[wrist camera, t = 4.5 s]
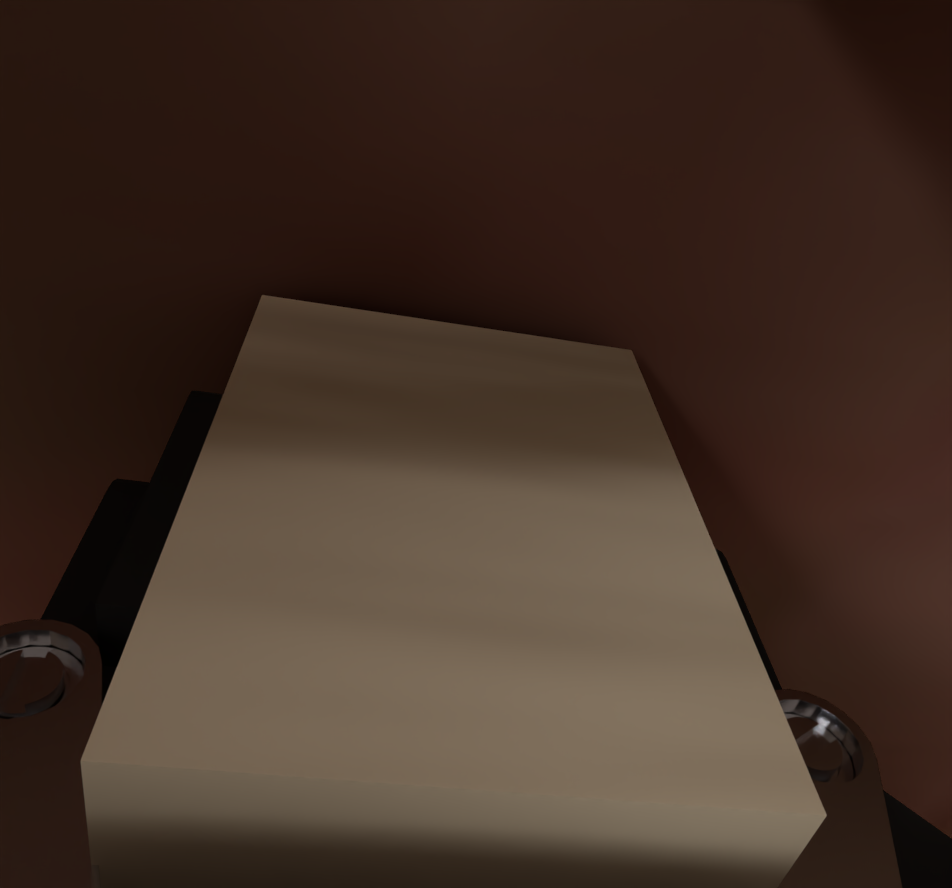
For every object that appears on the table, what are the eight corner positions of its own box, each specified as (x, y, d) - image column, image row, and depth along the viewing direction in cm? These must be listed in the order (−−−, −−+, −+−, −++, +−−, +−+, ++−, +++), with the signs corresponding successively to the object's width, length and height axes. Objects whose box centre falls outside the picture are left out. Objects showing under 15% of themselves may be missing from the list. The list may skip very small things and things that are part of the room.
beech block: (262, 294, 11) (80, 760, 5) (632, 350, 12) (827, 815, 6) (246, 579, 14) (115, 1093, 8) (548, 610, 15) (627, 1104, 9)
